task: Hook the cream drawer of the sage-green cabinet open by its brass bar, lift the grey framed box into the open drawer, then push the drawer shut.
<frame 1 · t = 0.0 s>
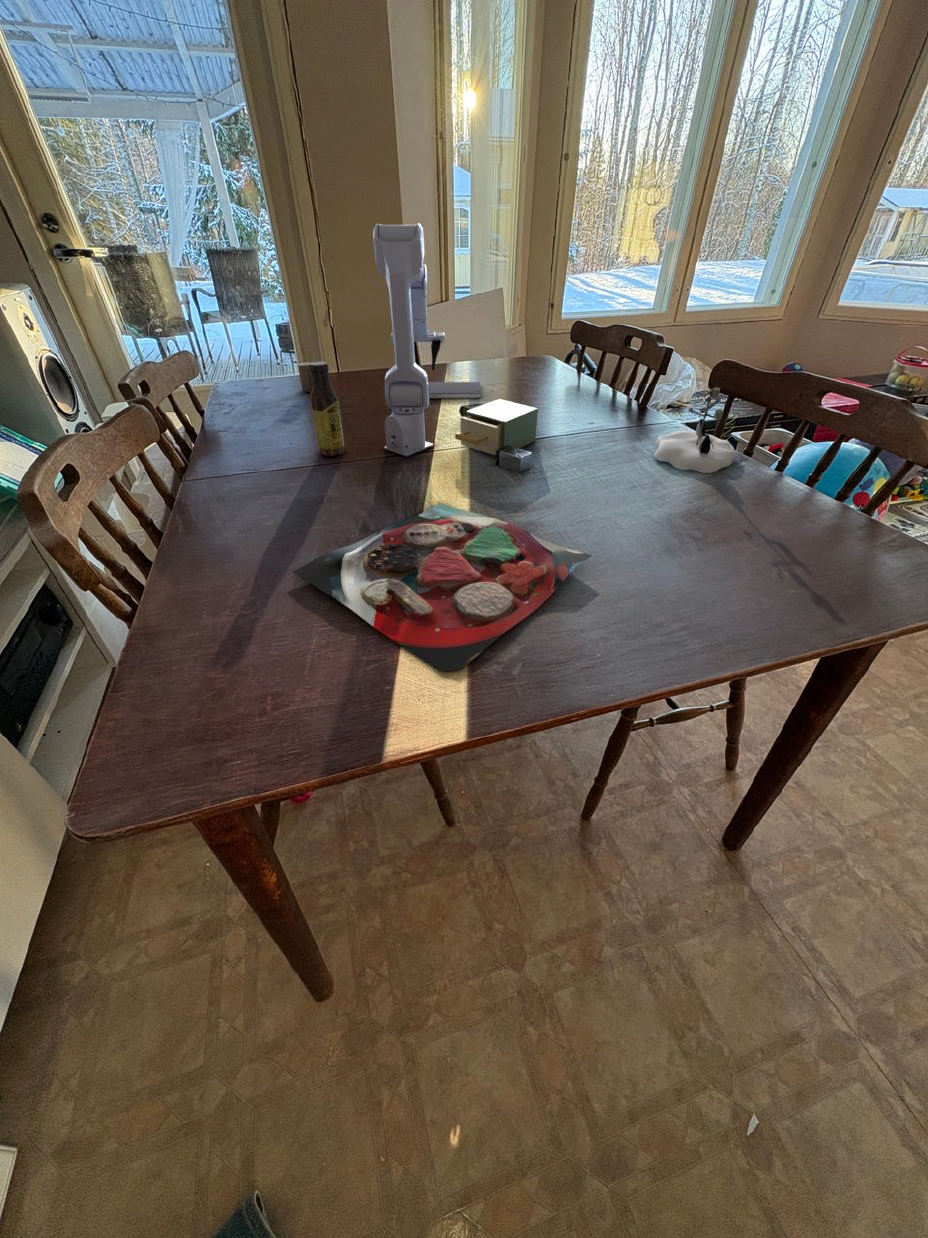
hand: (420, 368, 145), 11 cm above the table, tool pointing down, fingers open, 7 cm apart
grey framed box: (513, 466, 118), on the table
wooden block: (311, 391, 166), on the table
drawer: (487, 432, 124), point 4 cm above the table, slide at 1.5 cm
sauce bottle: (332, 453, 125), on the table
tape measure: (473, 419, 143), on the table
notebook: (447, 393, 163), on the table
cabinet: (500, 442, 129), on the table
figurine: (691, 456, 122), on the table
platter: (444, 572, 84), on the table
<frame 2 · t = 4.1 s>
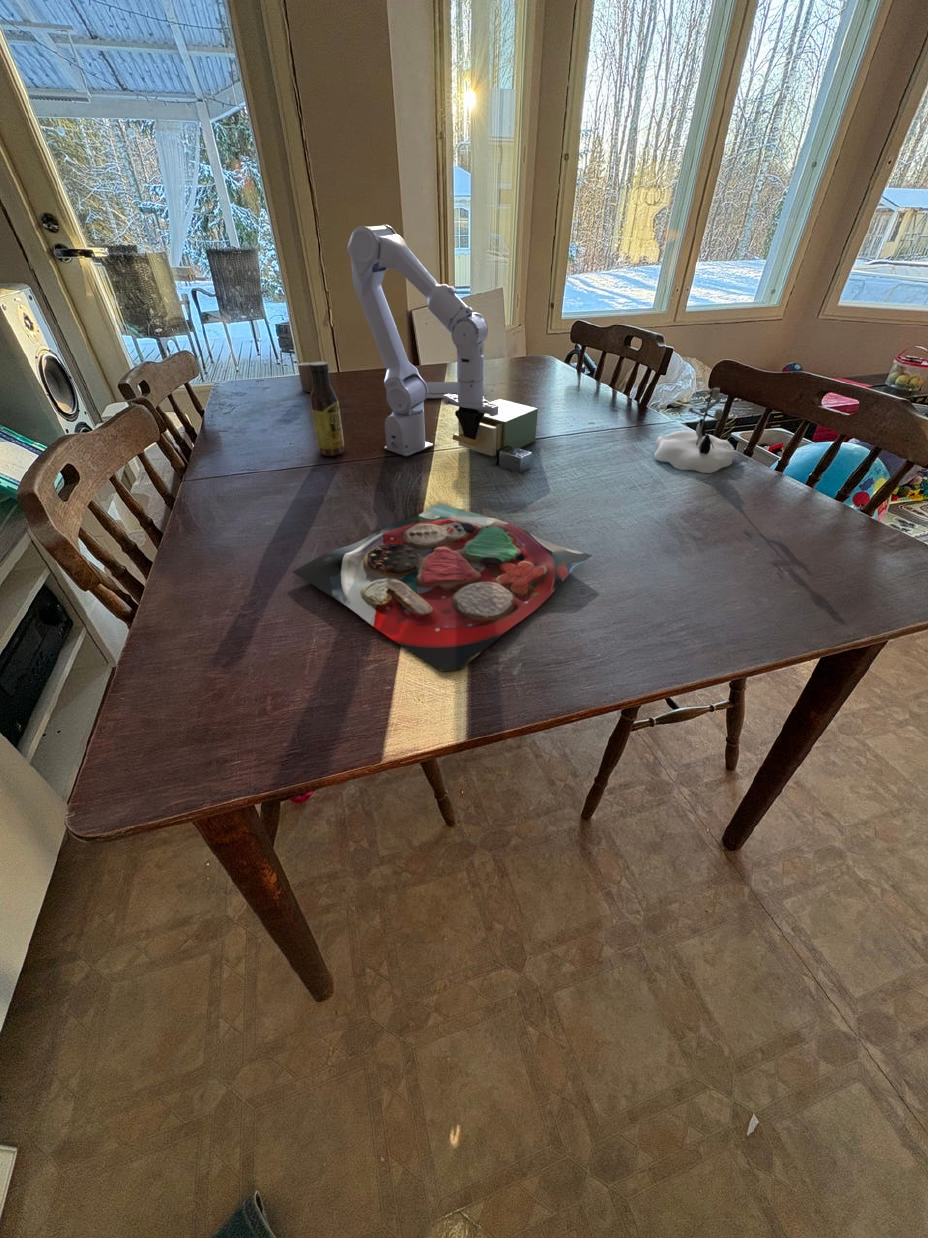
hand: (470, 441, 120), 4 cm above the table, tool pointing down, fingers closed, pressing on drawer
drawer: (485, 432, 123), point 4 cm above the table, slide at 2.4 cm, touching gripper
everything else where it was.
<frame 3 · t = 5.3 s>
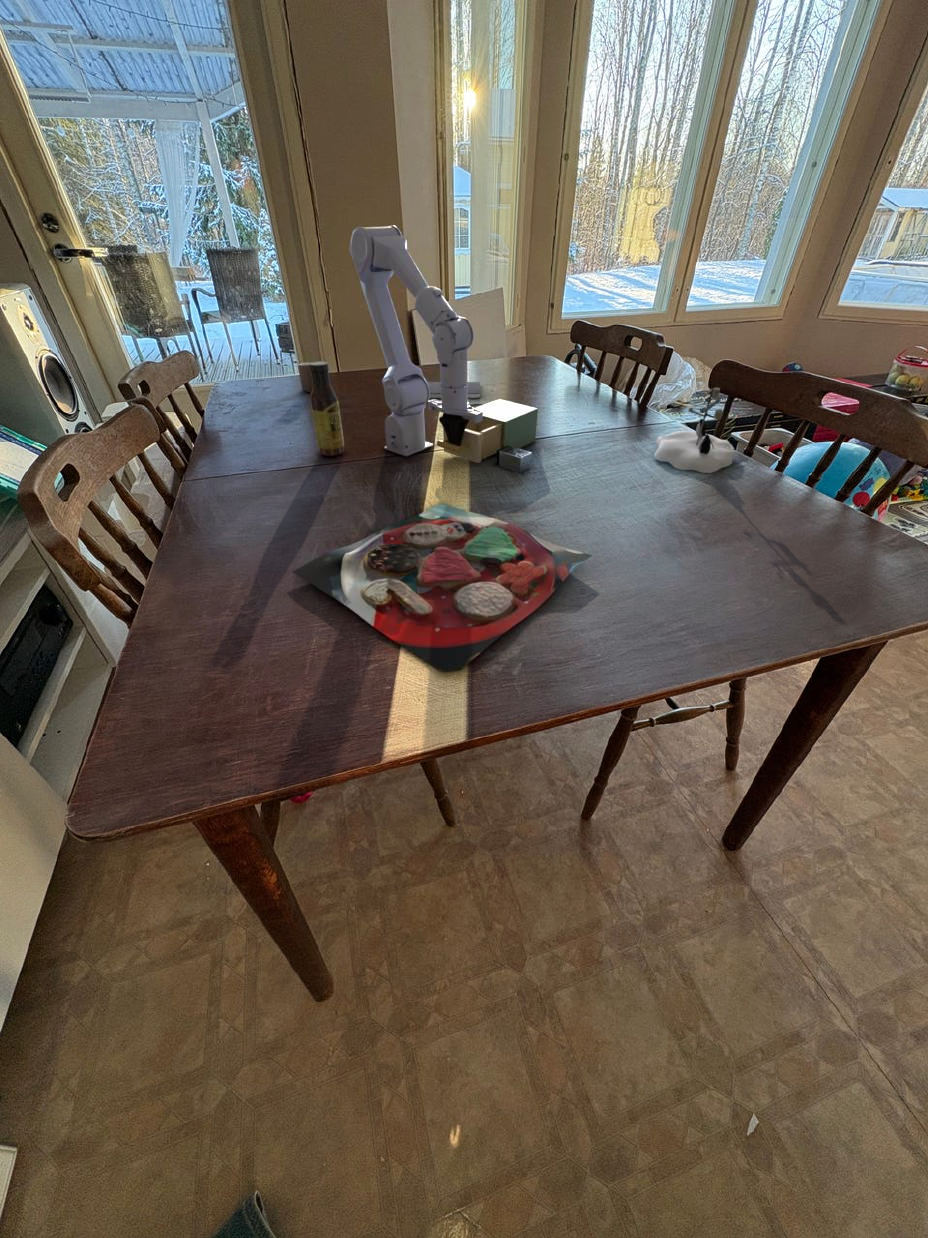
hand: (455, 447, 117), 4 cm above the table, tool pointing down, fingers closed, pressing on drawer
drawer: (471, 438, 120), point 4 cm above the table, slide at 7.7 cm, touching gripper
everything else where it was.
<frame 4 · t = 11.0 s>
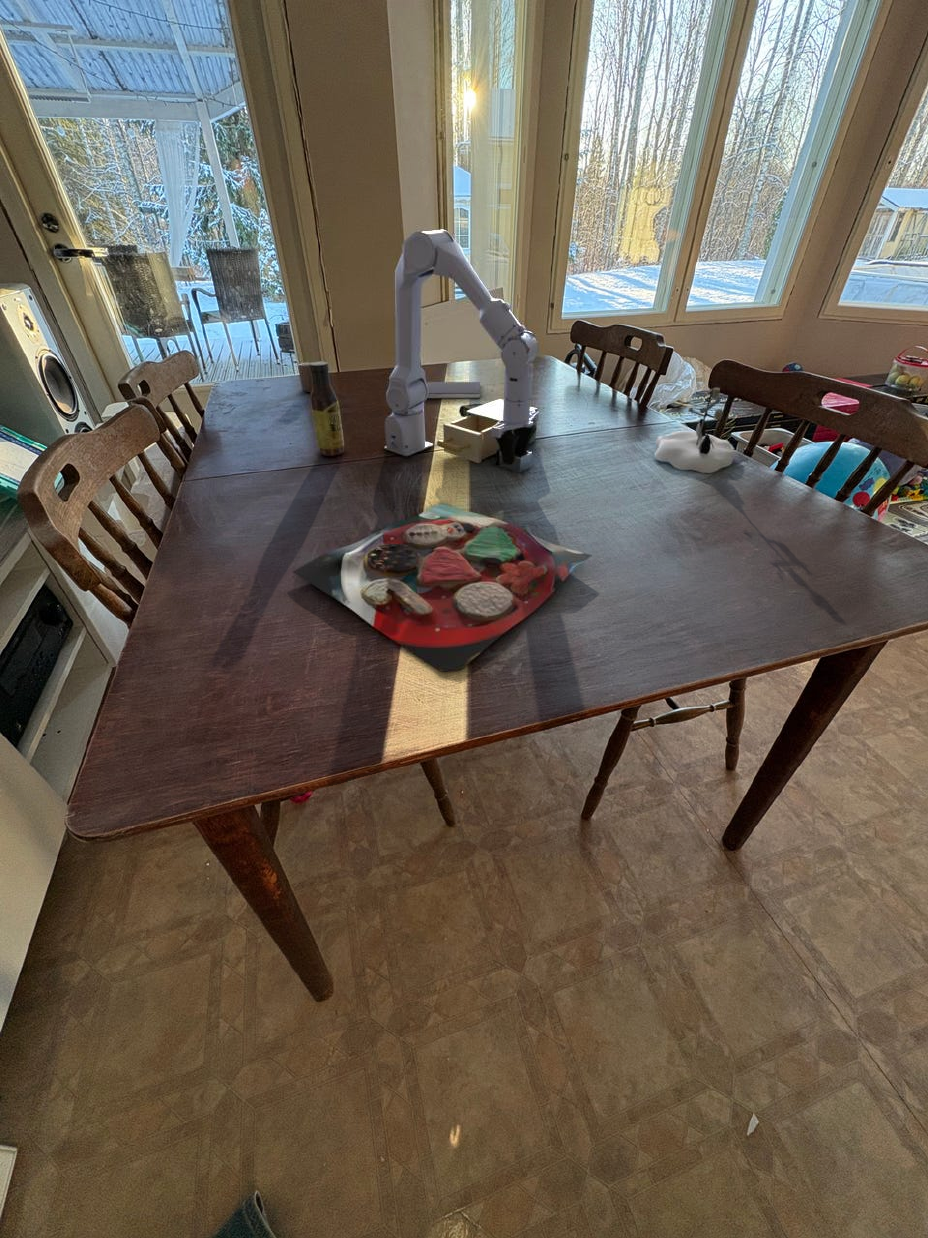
hand: (513, 460, 117), 1 cm above the table, tool pointing down, fingers closed on grey framed box, 4 cm apart
grey framed box: (513, 466, 118), on the table, touching gripper
drawer: (471, 438, 120), point 4 cm above the table, slide at 7.6 cm
everything else where it was.
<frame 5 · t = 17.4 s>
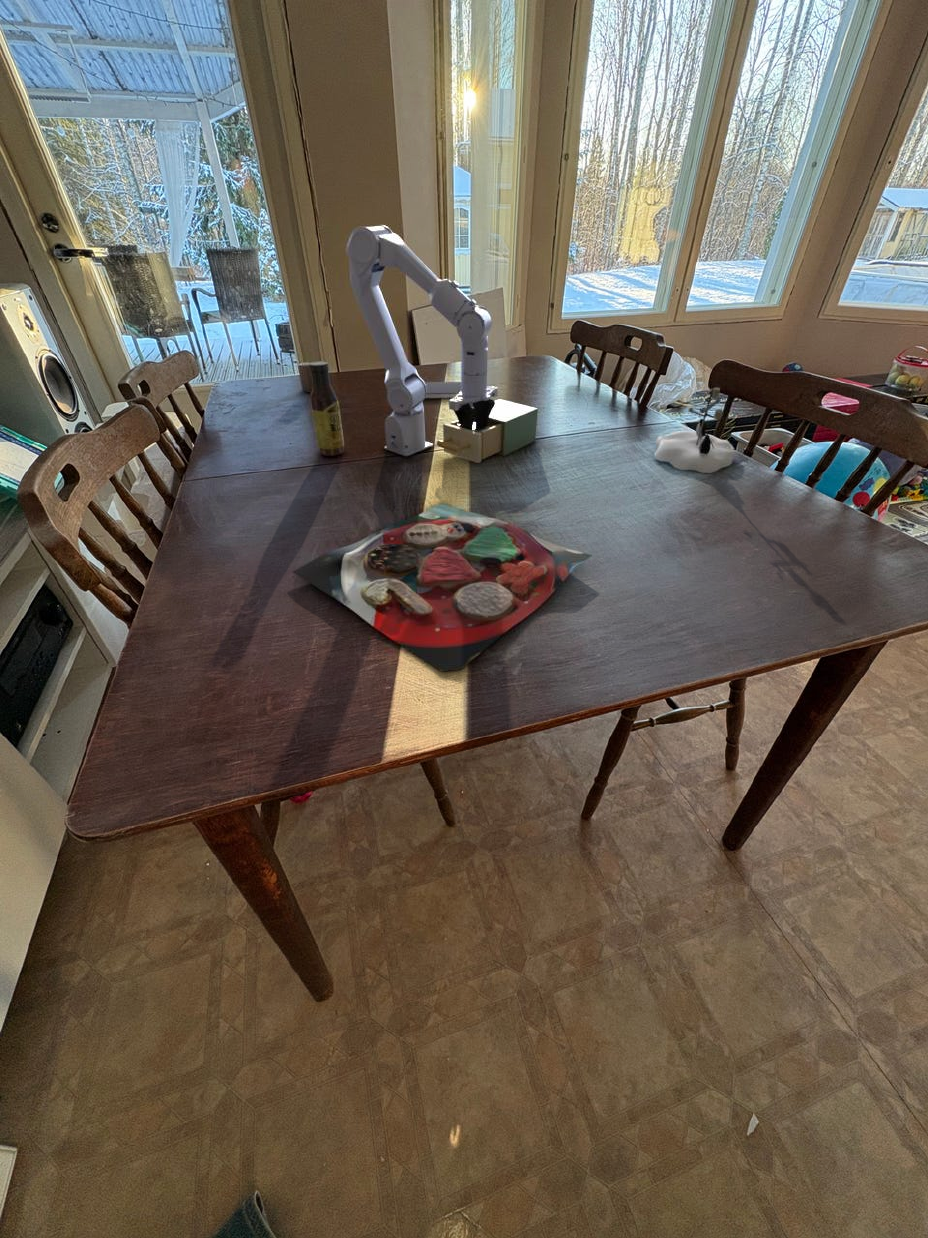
hand: (473, 434, 120), 5 cm above the table, tool pointing down, fingers closed on grey framed box, 4 cm apart
grey framed box: (473, 440, 121), point 3 cm above the table, touching gripper
everything else where it was.
when the fingers open (5 cm above the table, at t = 22.7 s): grey framed box drops 2 cm, resting on drawer.
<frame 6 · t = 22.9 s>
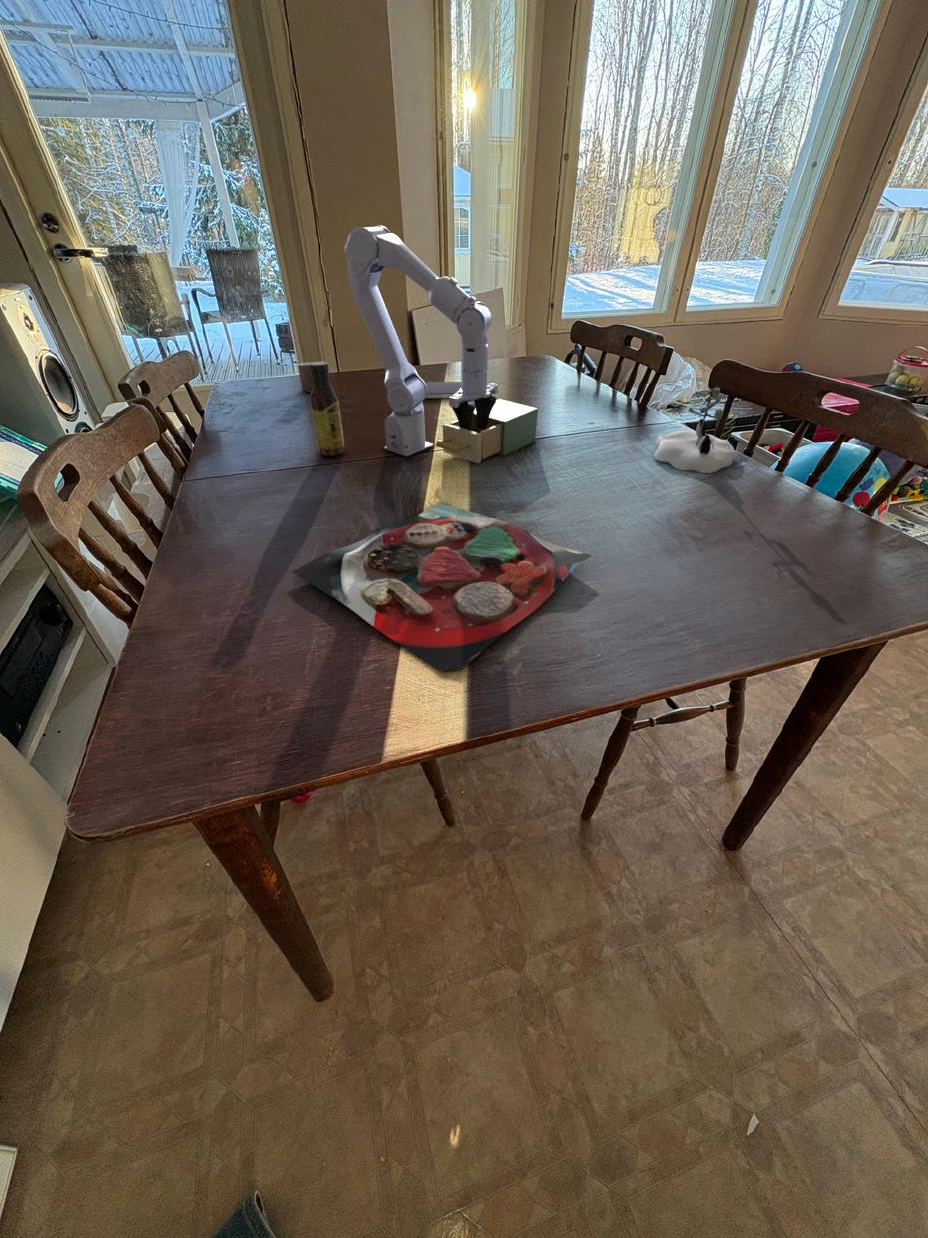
hand: (473, 431, 120), 5 cm above the table, tool pointing down, fingers open, 5 cm apart
grey framed box: (473, 447, 122), point 2 cm above the table, touching drawer
drawer: (470, 439, 120), point 4 cm above the table, slide at 7.8 cm, touching grey framed box, gripper
everything else where it was.
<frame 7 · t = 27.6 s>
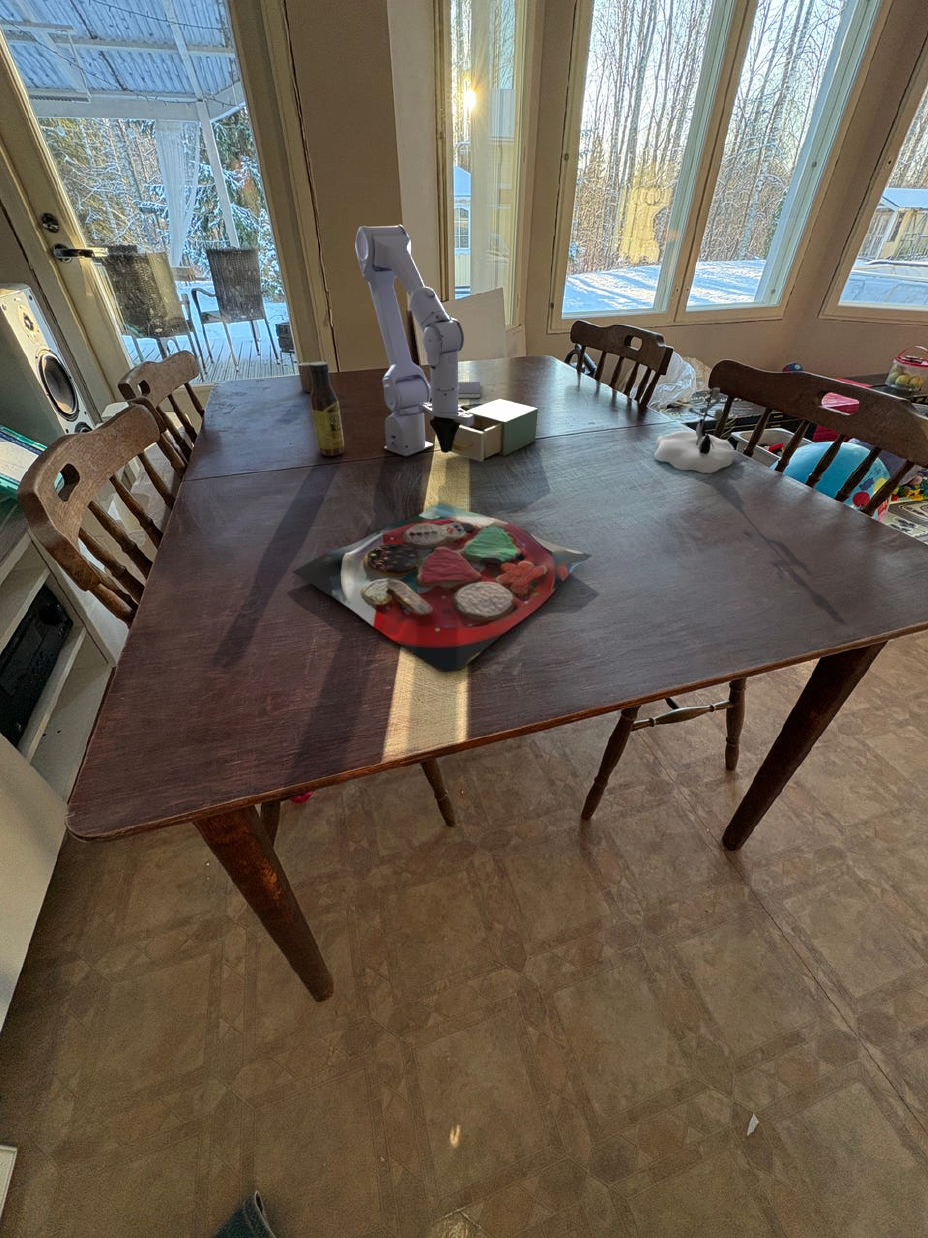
hand: (446, 451, 115), 4 cm above the table, tool pointing down, fingers closed, pressing on drawer
grey framed box: (476, 446, 123), point 2 cm above the table, touching drawer
drawer: (474, 437, 121), point 4 cm above the table, slide at 6.7 cm, touching grey framed box, gripper
everything else where it was.
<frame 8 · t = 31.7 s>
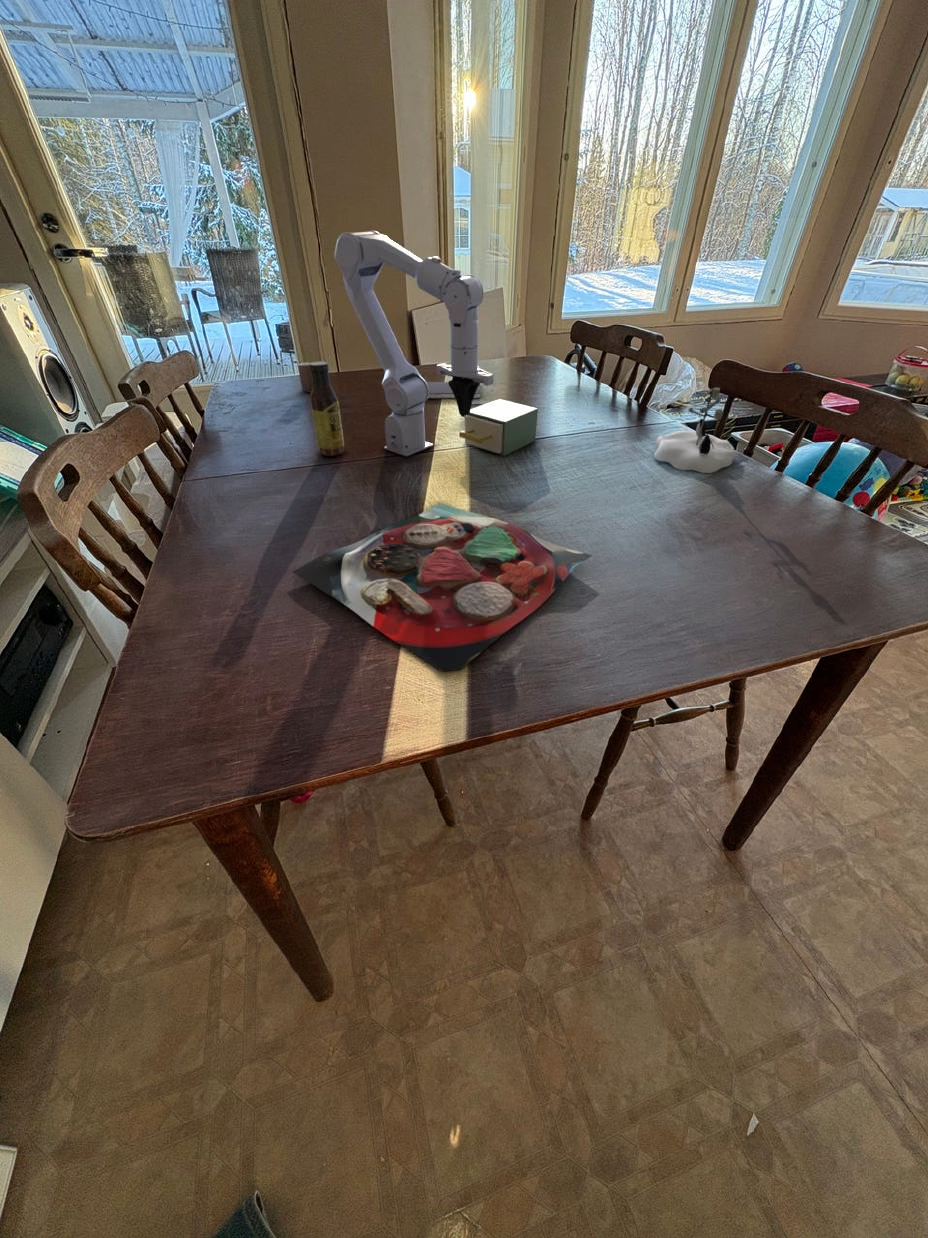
hand: (464, 413, 114), 10 cm above the table, tool pointing down, fingers closed
grey framed box: (494, 438, 126), point 2 cm above the table, touching drawer
drawer: (491, 430, 124), point 4 cm above the table, slide at 0.0 cm, touching grey framed box
everything else where it was.
at the end: grey framed box inside the target area in the cabinet (2.8 cm from its centre), point 1.7 cm above the cabinet's base; drawer slide at 0.0 cm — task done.
